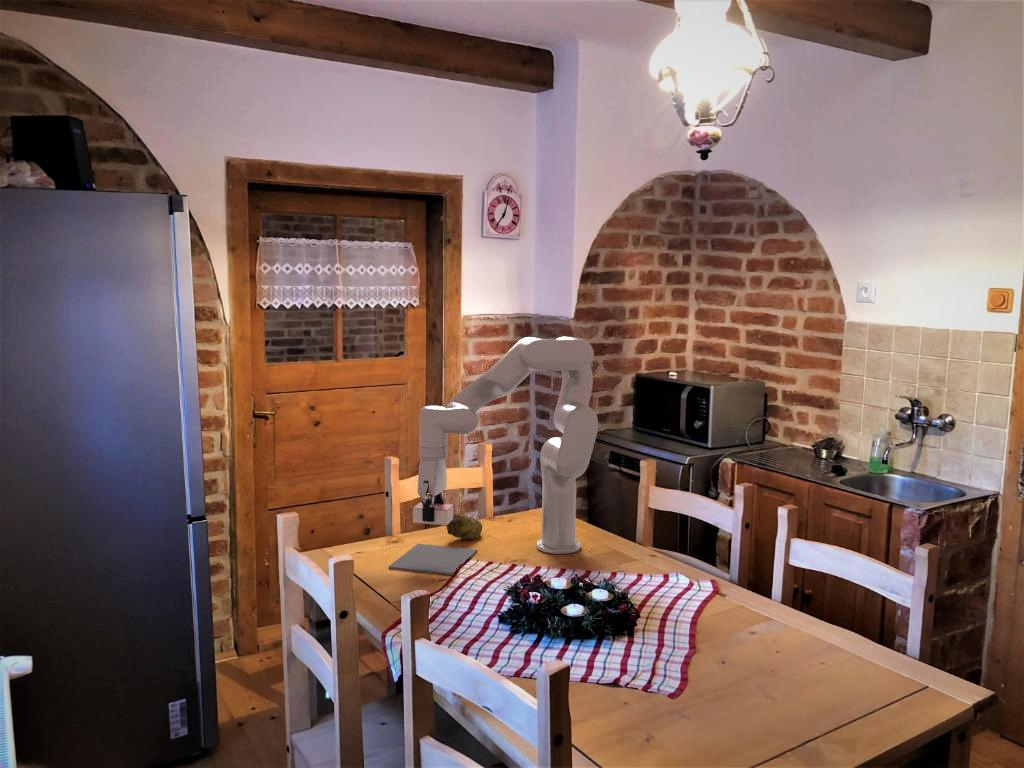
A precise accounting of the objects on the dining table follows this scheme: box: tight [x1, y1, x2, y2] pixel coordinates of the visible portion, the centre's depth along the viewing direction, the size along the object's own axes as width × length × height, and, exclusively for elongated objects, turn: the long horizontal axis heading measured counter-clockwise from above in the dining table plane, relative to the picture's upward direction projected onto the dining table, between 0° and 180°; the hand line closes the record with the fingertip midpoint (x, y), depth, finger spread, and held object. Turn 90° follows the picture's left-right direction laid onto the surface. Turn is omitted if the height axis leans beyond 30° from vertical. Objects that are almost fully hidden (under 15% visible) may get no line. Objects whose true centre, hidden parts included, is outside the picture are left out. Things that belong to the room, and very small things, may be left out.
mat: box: [388, 543, 478, 576], centre depth 224 cm, size 20×18×1 cm
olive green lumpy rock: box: [445, 513, 483, 540], centre depth 242 cm, size 8×13×8 cm, turn 122°
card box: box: [412, 502, 454, 526], centre depth 222 cm, size 10×6×4 cm, turn 79°
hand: (433, 517), depth 222 cm, fingers closed on card box, 6 cm apart
